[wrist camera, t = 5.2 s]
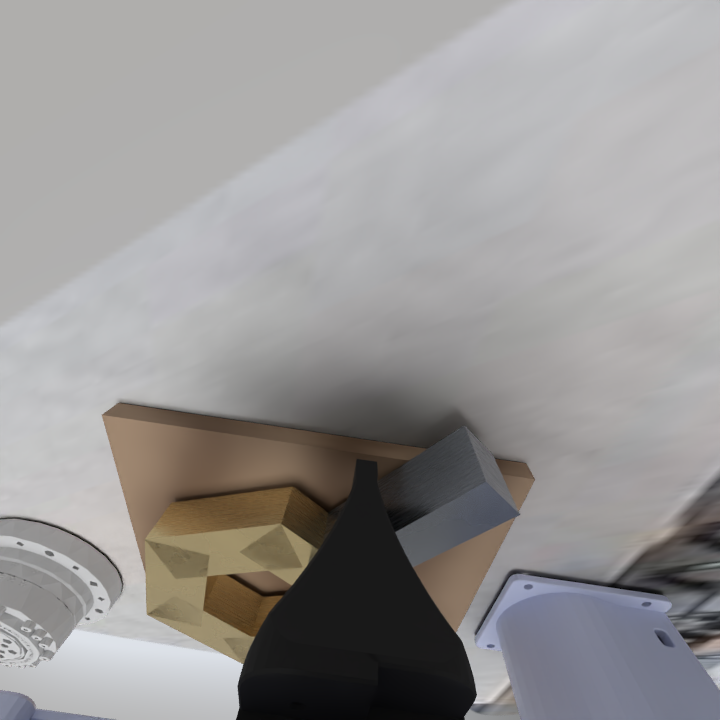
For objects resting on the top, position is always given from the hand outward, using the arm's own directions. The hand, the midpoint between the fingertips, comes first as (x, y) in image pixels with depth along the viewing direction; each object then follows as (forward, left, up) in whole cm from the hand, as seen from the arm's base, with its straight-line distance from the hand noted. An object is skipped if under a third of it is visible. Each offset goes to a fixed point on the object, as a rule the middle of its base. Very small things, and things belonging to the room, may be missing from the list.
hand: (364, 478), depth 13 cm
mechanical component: (+20, +15, -3) cm, 25 cm away
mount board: (+2, +8, -3) cm, 9 cm away
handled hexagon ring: (+2, +6, -1) cm, 6 cm away
